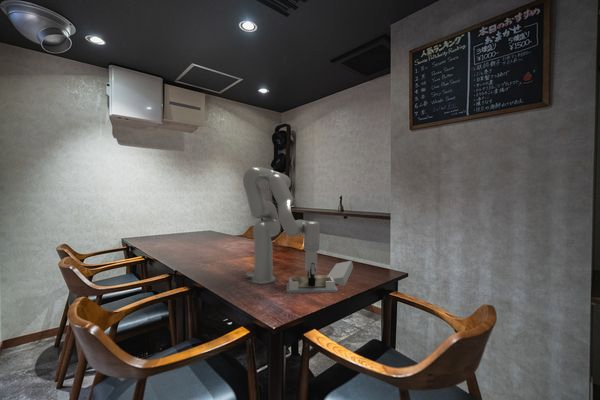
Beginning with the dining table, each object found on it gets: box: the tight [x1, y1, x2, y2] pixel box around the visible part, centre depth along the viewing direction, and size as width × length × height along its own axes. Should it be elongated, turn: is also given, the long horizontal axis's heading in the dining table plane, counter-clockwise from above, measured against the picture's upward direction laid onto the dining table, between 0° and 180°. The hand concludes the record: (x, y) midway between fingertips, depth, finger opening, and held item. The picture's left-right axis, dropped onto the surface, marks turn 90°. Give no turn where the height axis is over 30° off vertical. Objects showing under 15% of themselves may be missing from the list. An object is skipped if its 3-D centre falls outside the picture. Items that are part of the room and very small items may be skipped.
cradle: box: [285, 275, 339, 294], centre depth 127 cm, size 24×10×4 cm, turn 94°
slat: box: [294, 274, 329, 287], centre depth 127 cm, size 16×4×4 cm, turn 94°
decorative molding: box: [327, 260, 354, 287], centre depth 148 cm, size 34×5×10 cm
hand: (311, 283), depth 127 cm, fingers open, 4 cm apart
